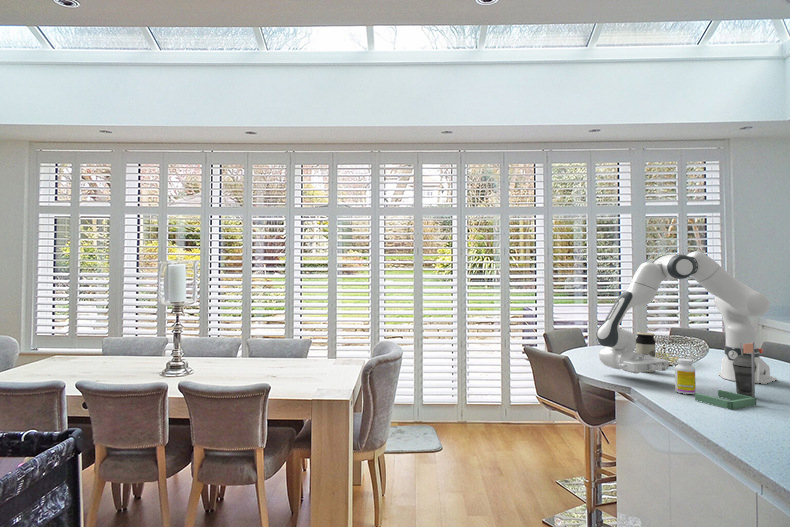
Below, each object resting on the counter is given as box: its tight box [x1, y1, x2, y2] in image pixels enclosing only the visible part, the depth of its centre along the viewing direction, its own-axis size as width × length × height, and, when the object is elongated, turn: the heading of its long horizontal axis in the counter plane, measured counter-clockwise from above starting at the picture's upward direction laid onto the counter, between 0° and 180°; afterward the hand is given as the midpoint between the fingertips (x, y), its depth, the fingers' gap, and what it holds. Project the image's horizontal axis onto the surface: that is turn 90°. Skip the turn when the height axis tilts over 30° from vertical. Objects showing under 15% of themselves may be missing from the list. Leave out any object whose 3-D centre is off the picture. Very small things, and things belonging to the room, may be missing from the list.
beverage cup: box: [733, 343, 756, 397], centre depth 174 cm, size 7×7×20 cm
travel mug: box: [635, 331, 656, 374], centre depth 218 cm, size 8×8×18 cm
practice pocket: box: [694, 342, 757, 410], centre depth 165 cm, size 14×12×22 cm
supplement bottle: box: [674, 358, 696, 395], centre depth 178 cm, size 7×7×13 cm
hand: (663, 368), depth 186 cm, fingers closed
